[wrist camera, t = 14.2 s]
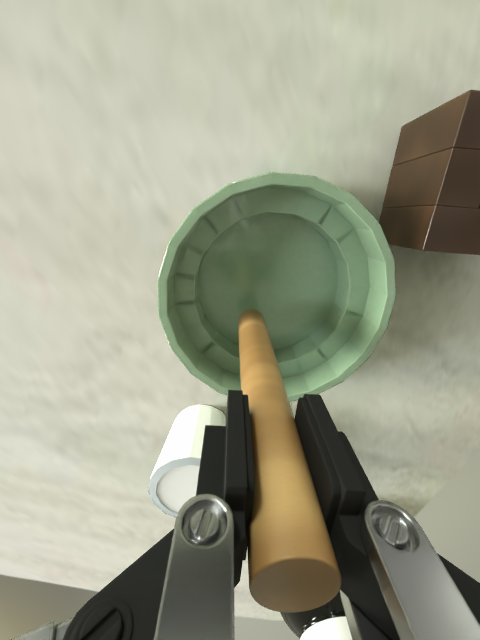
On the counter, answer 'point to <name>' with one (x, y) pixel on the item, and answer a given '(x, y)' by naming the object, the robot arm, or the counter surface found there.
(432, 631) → the robot arm
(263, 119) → the counter surface
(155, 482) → the white cup
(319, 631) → the spread jar
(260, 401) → the stirring stick
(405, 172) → the stick holder
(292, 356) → the bowl
